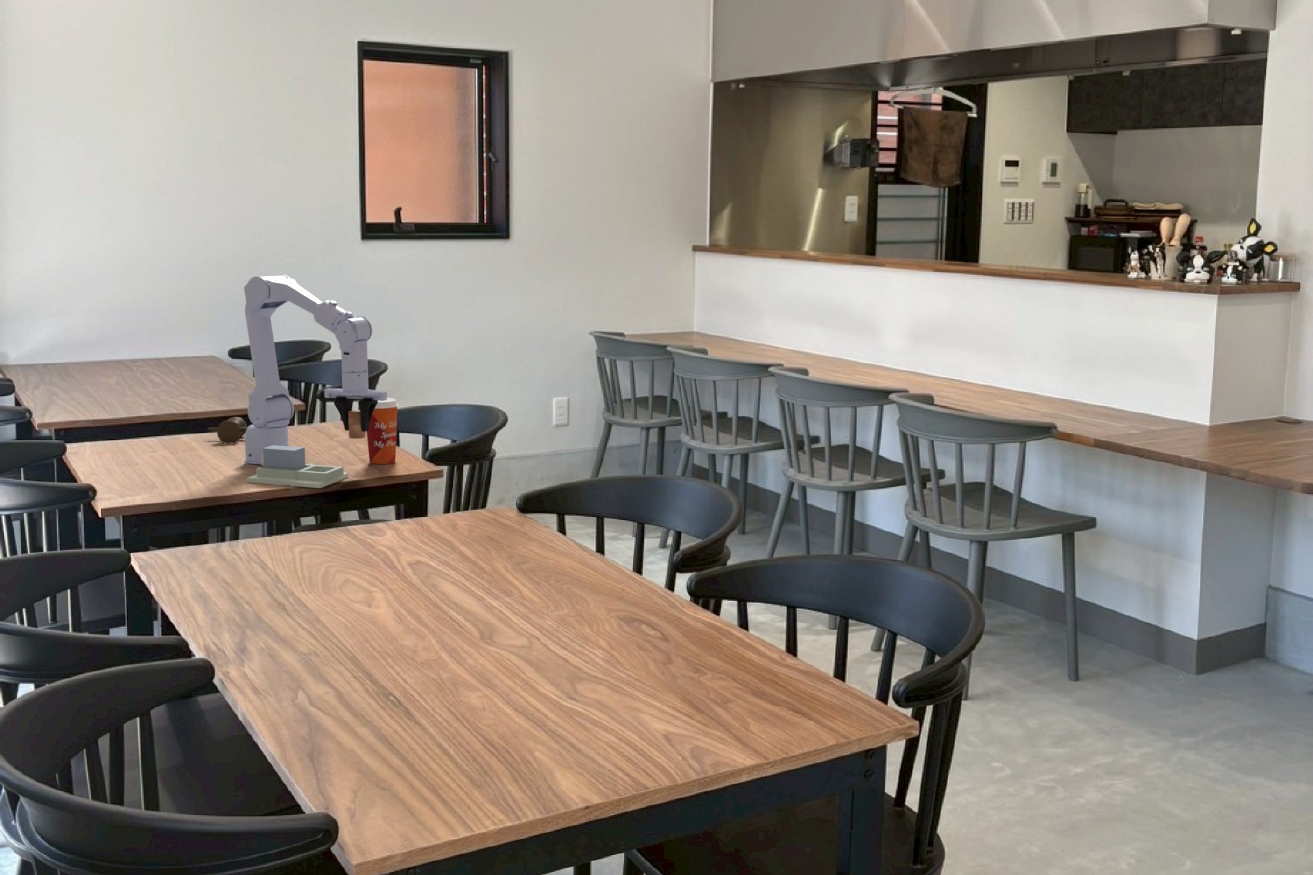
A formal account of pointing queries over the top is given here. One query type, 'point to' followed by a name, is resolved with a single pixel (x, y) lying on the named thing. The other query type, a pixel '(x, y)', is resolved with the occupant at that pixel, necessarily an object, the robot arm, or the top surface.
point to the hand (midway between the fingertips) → (356, 430)
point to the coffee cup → (383, 432)
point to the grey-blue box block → (283, 457)
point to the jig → (300, 476)
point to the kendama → (230, 429)
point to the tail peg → (355, 424)
